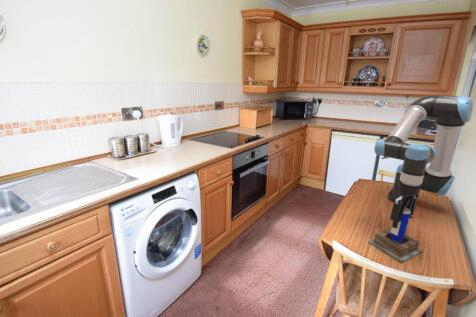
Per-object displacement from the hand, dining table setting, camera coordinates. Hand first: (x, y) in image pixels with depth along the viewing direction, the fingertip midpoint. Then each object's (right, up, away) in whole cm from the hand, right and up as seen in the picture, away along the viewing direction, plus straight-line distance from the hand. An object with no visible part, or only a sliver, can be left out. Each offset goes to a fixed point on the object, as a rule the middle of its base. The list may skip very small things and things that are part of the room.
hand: (398, 231), depth 108 cm
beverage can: (0, -4, +1) cm, 4 cm away
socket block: (0, -8, +3) cm, 8 cm away
